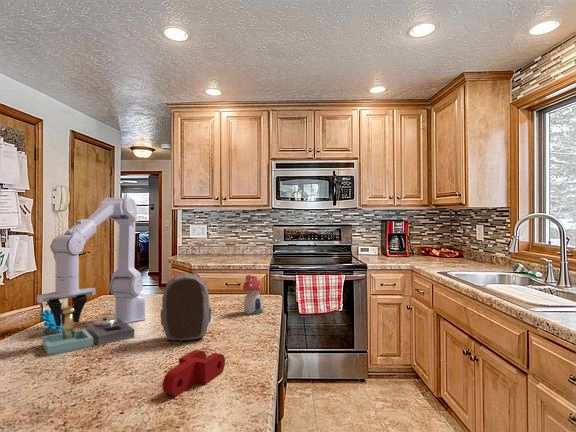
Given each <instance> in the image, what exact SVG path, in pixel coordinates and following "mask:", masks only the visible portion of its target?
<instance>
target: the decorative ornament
mask: <svg viewBox="0 0 576 432" xmlns="http://www.w3.org/2000/svg"><path fill="white" fill-rule="evenodd" d="M242 286H243V287H242V289H243V290H242V291H243V292H244V293H246V295H245V297H244V301H243V310H244V314H246V315H251V316H254V315H260V314H262V313H263V311H264V306H263V304H262V303H263V302H262V301H263V300H262V297H261V295H260V293H259V291H261V290H262V289H263V287H264V285H263V282H262V281H261V280H260V279H259V277H257V276H253V275H251V274H246V275H245V282H244V284H243V285H242Z"/></svg>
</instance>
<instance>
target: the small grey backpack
mask: <svg viewBox="0 0 576 432" xmlns="http://www.w3.org/2000/svg"><path fill="white" fill-rule="evenodd" d="M165 284H166V285H165V289H164V292H163V295H162V298H161V299H162V301H161V302H162V304H161V305H162V306H161V310H160V322H161V323H160V324H161V326H162V328H163V331H164V334H165V336H166V339H168V340H173V341H188V340H189V341H190V340H198V339H202V338H205V336H206V334H207V333H206V332H207V330H208V326H209V325H210V324H209V322H210V320H211V313H212V314H213V311H212V306H211V305H210V295H209V294H210V293H209V292H208V288H207V285H206V281H205V280H204V279H203V278H201V277H200V276H199V275H197V274H193V273H189V272H184V273H179V274H176V275H174V276H173V277H171V278H170V280H168V281H167V282H166V283H165Z"/></svg>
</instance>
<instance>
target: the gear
mask: <svg viewBox="0 0 576 432" xmlns="http://www.w3.org/2000/svg"><path fill="white" fill-rule="evenodd" d="M40 316H41V317H40V320H41V321H43V325H44V326H45V327H46V328H45V329H44V330H43V331H42V334H44V335H46V334H47V333H48V332H49V331H51V332H54V331H55V330H56V334H60V333H62V318H61V326H56V323H55V319H54V316H53V313H52V311H51V310H49V309H45V310H43V311H42V312H41V313H40Z"/></svg>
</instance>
